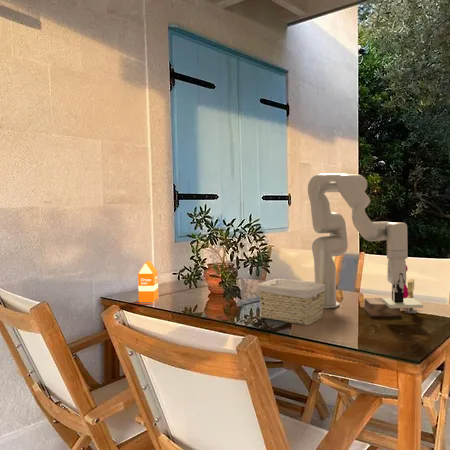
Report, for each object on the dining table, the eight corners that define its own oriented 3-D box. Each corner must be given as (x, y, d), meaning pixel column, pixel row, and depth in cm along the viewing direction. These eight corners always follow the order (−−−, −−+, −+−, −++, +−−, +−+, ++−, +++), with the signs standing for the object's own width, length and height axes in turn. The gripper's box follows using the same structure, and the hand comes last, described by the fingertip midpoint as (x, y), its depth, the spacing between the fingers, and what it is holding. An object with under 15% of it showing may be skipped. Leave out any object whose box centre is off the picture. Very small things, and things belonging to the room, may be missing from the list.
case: (370, 316, 191) (370, 304, 191) (363, 309, 203) (363, 297, 203) (401, 316, 190) (401, 304, 190) (392, 309, 202) (392, 297, 202)
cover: (390, 308, 174) (389, 291, 174) (382, 301, 186) (381, 286, 186) (422, 307, 173) (422, 291, 173) (412, 301, 185) (412, 285, 185)
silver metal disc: (407, 313, 194) (407, 311, 193) (404, 311, 198) (404, 309, 198) (418, 313, 193) (418, 311, 193) (414, 311, 197) (414, 309, 197)
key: (411, 314, 188) (411, 283, 188) (406, 313, 189) (406, 283, 189) (414, 307, 199) (414, 279, 198) (409, 307, 199) (409, 278, 199)
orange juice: (158, 299, 233) (157, 260, 232) (154, 303, 225) (153, 262, 223) (143, 299, 234) (142, 260, 233) (138, 303, 225) (137, 262, 224)
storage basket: (327, 318, 190) (326, 282, 189) (308, 327, 177) (308, 289, 176) (276, 310, 204) (276, 277, 203) (256, 319, 191) (255, 283, 191)
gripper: (381, 252, 187) (382, 297, 188) (392, 257, 171) (393, 306, 172) (401, 251, 187) (401, 297, 188) (413, 256, 171) (414, 306, 171)
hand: (397, 301), depth 180 cm, fingers closed on cover, 3 cm apart
